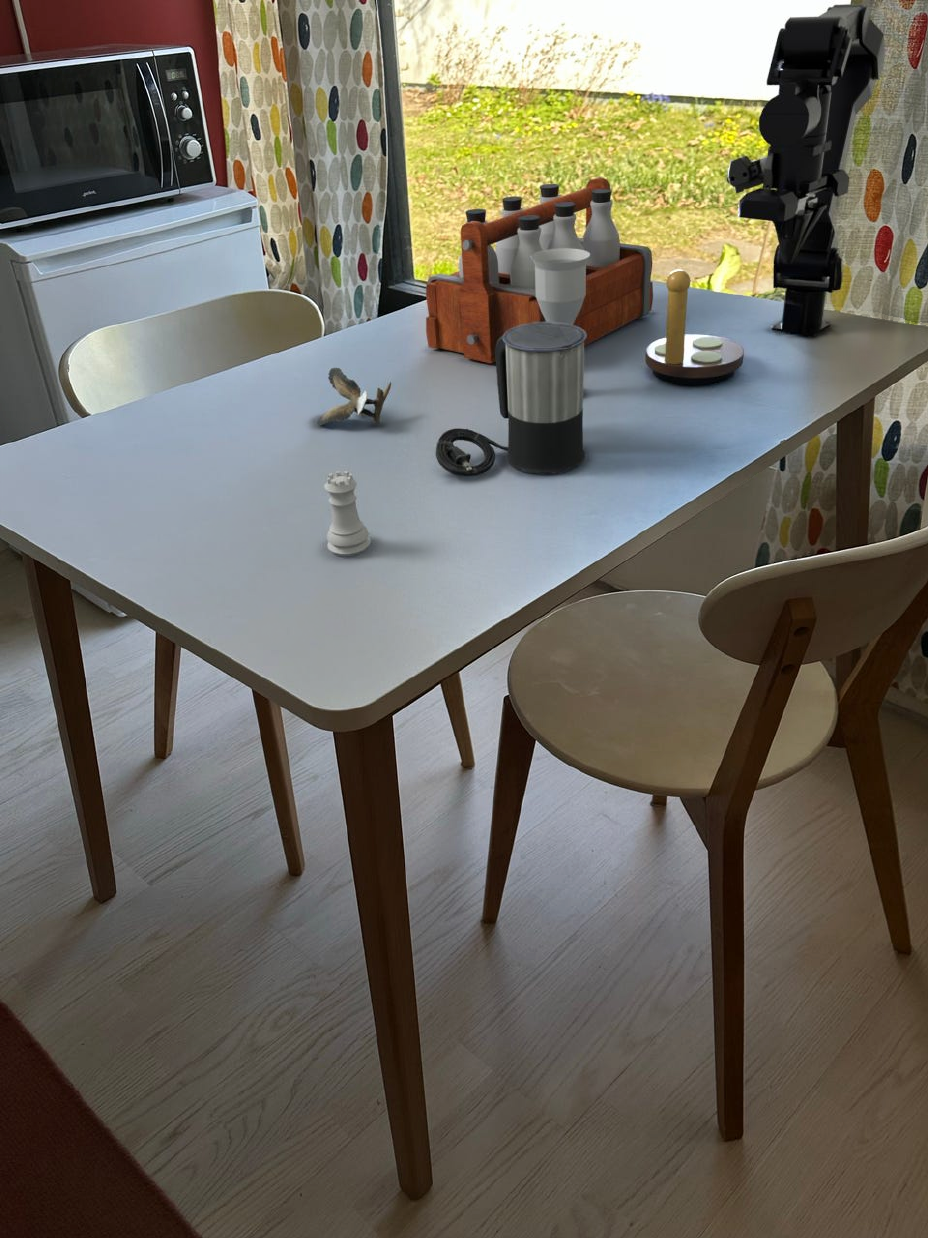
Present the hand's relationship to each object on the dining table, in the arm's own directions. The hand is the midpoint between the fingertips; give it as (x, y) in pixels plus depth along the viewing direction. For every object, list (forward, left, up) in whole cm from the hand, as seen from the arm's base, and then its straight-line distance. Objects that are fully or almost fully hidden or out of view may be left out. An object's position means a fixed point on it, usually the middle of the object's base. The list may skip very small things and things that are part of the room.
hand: (787, 262), depth 136 cm
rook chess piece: (+72, -10, -13) cm, 74 cm away
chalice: (+27, -17, -13) cm, 34 cm away
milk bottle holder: (+8, -35, -13) cm, 38 cm away
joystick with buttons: (+10, -7, -12) cm, 17 cm away
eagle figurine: (+49, -34, -13) cm, 61 cm away
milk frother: (+47, -9, -13) cm, 50 cm away
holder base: (+10, -7, -13) cm, 18 cm away
